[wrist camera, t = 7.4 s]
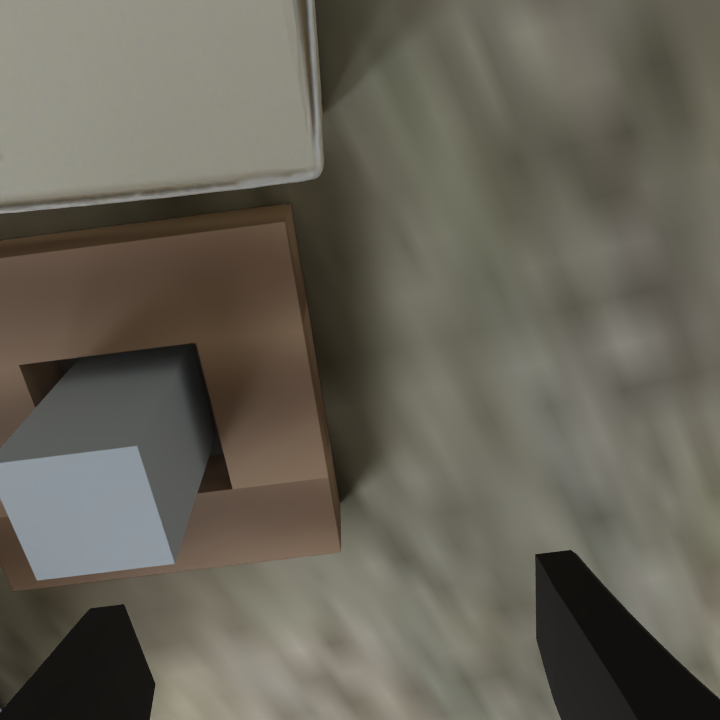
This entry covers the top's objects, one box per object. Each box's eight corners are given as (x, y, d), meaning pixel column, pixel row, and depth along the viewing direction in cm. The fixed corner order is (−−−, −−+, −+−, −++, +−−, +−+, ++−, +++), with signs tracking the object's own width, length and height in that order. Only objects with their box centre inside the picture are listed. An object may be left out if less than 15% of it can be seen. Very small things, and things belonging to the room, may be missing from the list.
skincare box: (107, 136, 17) (-279, 250, 6) (64, -52, 16) (-583, -345, 5) (332, 118, 18) (332, 203, 6) (317, -72, 16) (278, -408, 5)
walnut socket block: (340, 504, 23) (340, 551, 21) (44, 540, 23) (12, 591, 21) (290, 202, 18) (284, 221, 16) (-78, 250, 19) (-136, 275, 16)
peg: (215, 436, 21) (174, 564, 16) (112, 449, 21) (37, 580, 16) (191, 341, 20) (137, 445, 14) (81, 356, 20) (-15, 464, 14)
